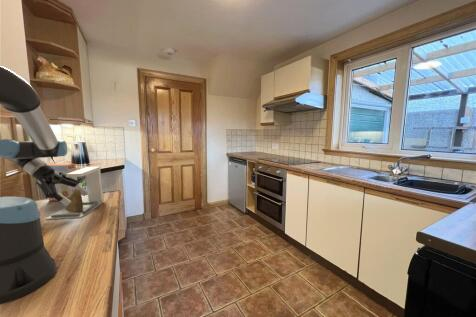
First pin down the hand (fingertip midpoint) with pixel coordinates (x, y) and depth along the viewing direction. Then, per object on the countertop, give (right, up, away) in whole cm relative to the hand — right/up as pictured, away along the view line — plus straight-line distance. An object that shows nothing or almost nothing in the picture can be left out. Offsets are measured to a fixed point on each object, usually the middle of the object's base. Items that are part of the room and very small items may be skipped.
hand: (78, 198), depth 102 cm
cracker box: (-21, -4, +16) cm, 26 cm away
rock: (-2, -6, 0) cm, 6 cm away
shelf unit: (-2, -6, +2) cm, 7 cm away
